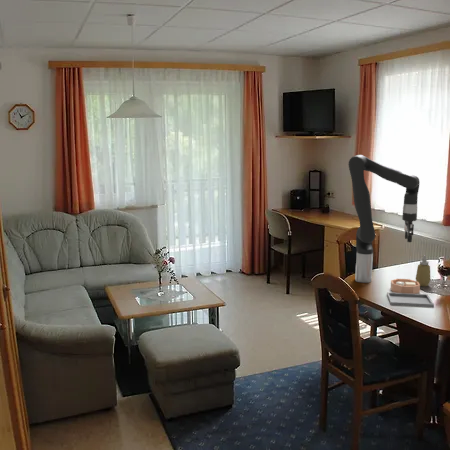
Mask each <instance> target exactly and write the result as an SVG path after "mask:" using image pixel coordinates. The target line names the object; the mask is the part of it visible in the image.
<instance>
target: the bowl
mask: <svg viewBox="0 0 450 450" xmlns="http://www.w3.org/2000/svg"><path fill="white" fill-rule="evenodd" d="M396 282H404V283H405V282H415V284H416V285H415V286H405V284H404V286H401V285H397V284H396ZM390 290H391V292H392V293H410V294H421V293H420V292H421V286H420V284H419V282H417V281H416V280H413V279H410V278H396V279H391V280H390Z"/></svg>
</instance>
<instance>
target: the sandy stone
mask: <svg viewBox="0 0 450 450" xmlns="http://www.w3.org/2000/svg"><path fill="white" fill-rule="evenodd" d="M415 285H416V284H415V282H405V286H415Z"/></svg>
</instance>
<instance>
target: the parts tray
mask: <svg viewBox="0 0 450 450" xmlns="http://www.w3.org/2000/svg"><path fill="white" fill-rule="evenodd" d="M386 297H387V300H388V301H389V304H390V305H391V306H405V307H410V306H411V307H422V308H423V307H426V308H434V307H435V304H434V302H433V301H432V299H431V298H430V295H429V294H427V293H417V294H410V293H396V292H390V291H389V292H386Z"/></svg>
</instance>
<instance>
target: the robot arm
mask: <svg viewBox="0 0 450 450" xmlns="http://www.w3.org/2000/svg"><path fill="white" fill-rule="evenodd" d="M347 165H348V168H349V174H350V178H351V184H352V195H353V203H354V208H355V211H356V214H357V217H358V220H359V227H358V228H357V229H356V234H355V235H356V236H355V248H356V261H355V262H356V263H355V275H354V276H355V282H357V283H364V284H365V283H371V282H372V278H373V257H374V248H373V245H372V242H373V241H374V240H375V237H376V231H375V226H374V223H373V216H372V203H371V194H370V191H369V188H368V185H367V183H366V180H365V172H370V173H373V174H375V175H376V176H378V177H380V178H382V179H383V180H386V181H388V182H391V183H393V184H397V185H398V186H401V187H403V188H405V193H404V197H403V205H402V220H403V221H404V229H403V230H404V239H405V240H407V243H412V242H413V236H414V229H415V228H414V227H415V226H414V224H413V222H416V221H417V220H418V196H419V195H418V194H419V191H420V178H419V177H418V176H417V175H413V174H412V175H409V174H405V173H403V172H402V171H400V170H398V169H394V168H392V167H389V166H386V165H383V164H380V163H379V162H376V161H374V160H373V159H371V158H369V157H367V156H364V155H363V154H357V155H354V156H352V157H350V159H349V160H348V164H347Z"/></svg>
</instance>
